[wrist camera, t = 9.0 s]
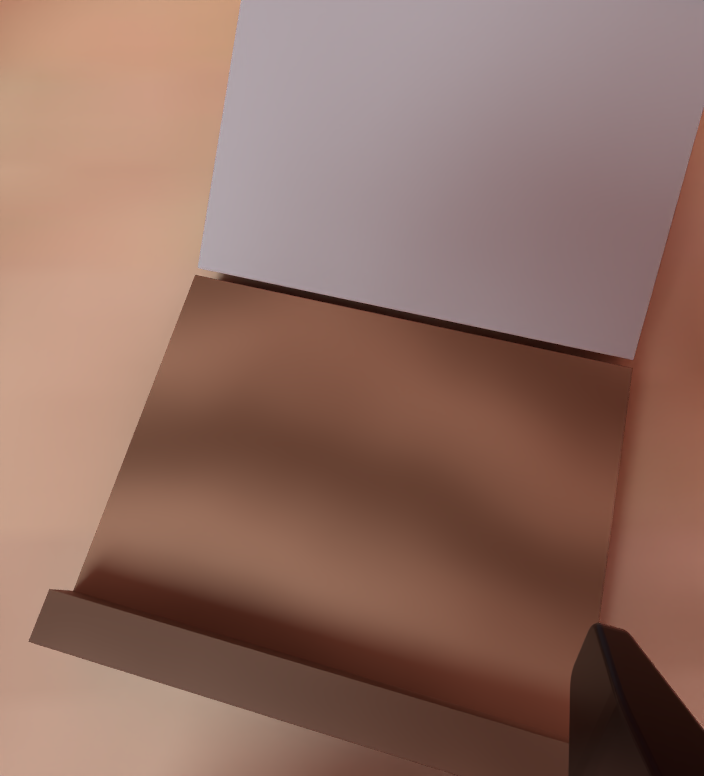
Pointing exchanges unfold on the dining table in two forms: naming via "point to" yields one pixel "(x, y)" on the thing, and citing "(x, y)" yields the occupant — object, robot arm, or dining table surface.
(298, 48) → the tailgate
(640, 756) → the robot arm
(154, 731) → the dining table surface
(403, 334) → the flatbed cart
